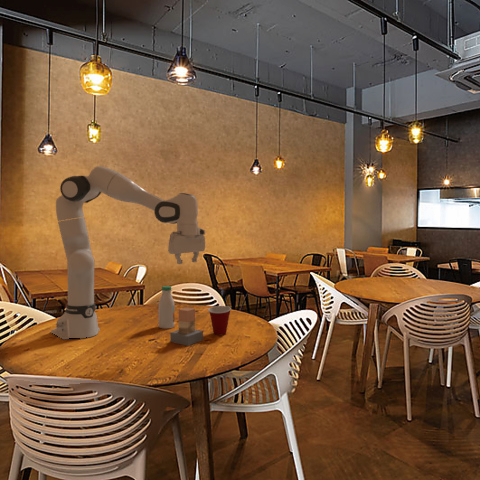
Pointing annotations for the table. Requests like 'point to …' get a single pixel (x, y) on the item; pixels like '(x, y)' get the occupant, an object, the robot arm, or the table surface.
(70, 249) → the robot arm
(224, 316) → the plastic cup
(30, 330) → the table surface
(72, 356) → the table surface
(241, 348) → the table surface
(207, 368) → the table surface
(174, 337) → the slate base
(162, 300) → the milk bottle
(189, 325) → the maple cube
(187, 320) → the terracotta cube
